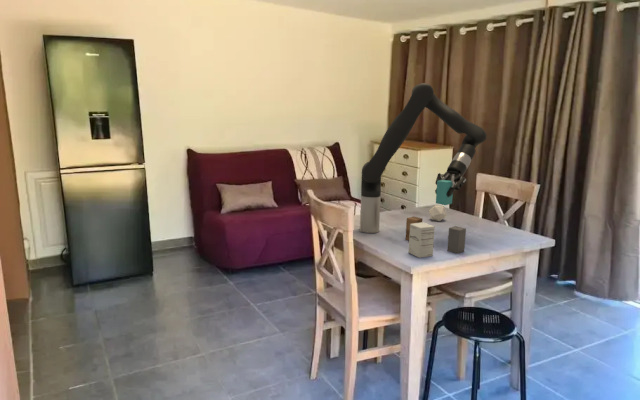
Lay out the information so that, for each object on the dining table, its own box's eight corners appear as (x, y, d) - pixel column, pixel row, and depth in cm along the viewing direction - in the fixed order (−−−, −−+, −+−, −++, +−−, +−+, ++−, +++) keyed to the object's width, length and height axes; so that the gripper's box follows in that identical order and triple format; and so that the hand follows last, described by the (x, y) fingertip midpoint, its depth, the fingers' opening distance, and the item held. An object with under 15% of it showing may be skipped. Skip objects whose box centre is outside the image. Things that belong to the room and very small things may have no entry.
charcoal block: (457, 253, 205) (459, 230, 203) (447, 250, 209) (448, 228, 207) (464, 251, 208) (466, 228, 206) (453, 248, 212) (455, 226, 210)
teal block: (445, 205, 213) (447, 182, 211) (435, 203, 217) (437, 180, 215) (452, 203, 216) (453, 181, 214) (442, 201, 220) (443, 179, 218)
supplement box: (407, 252, 205) (409, 223, 202) (422, 250, 208) (424, 221, 206) (418, 258, 199) (420, 227, 196) (433, 256, 202) (435, 226, 199)
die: (449, 222, 260) (445, 205, 264) (445, 217, 253) (441, 200, 257) (434, 225, 263) (430, 209, 267) (429, 221, 256) (426, 204, 260)
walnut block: (414, 241, 221) (415, 220, 219) (405, 239, 225) (406, 218, 222) (421, 239, 224) (422, 218, 222) (412, 237, 228) (413, 216, 226)
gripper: (442, 157, 223) (425, 187, 217) (471, 161, 212) (453, 192, 207) (448, 168, 227) (431, 197, 222) (476, 172, 217) (459, 202, 212)
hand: (442, 194), depth 214 cm, fingers closed on teal block, 5 cm apart
